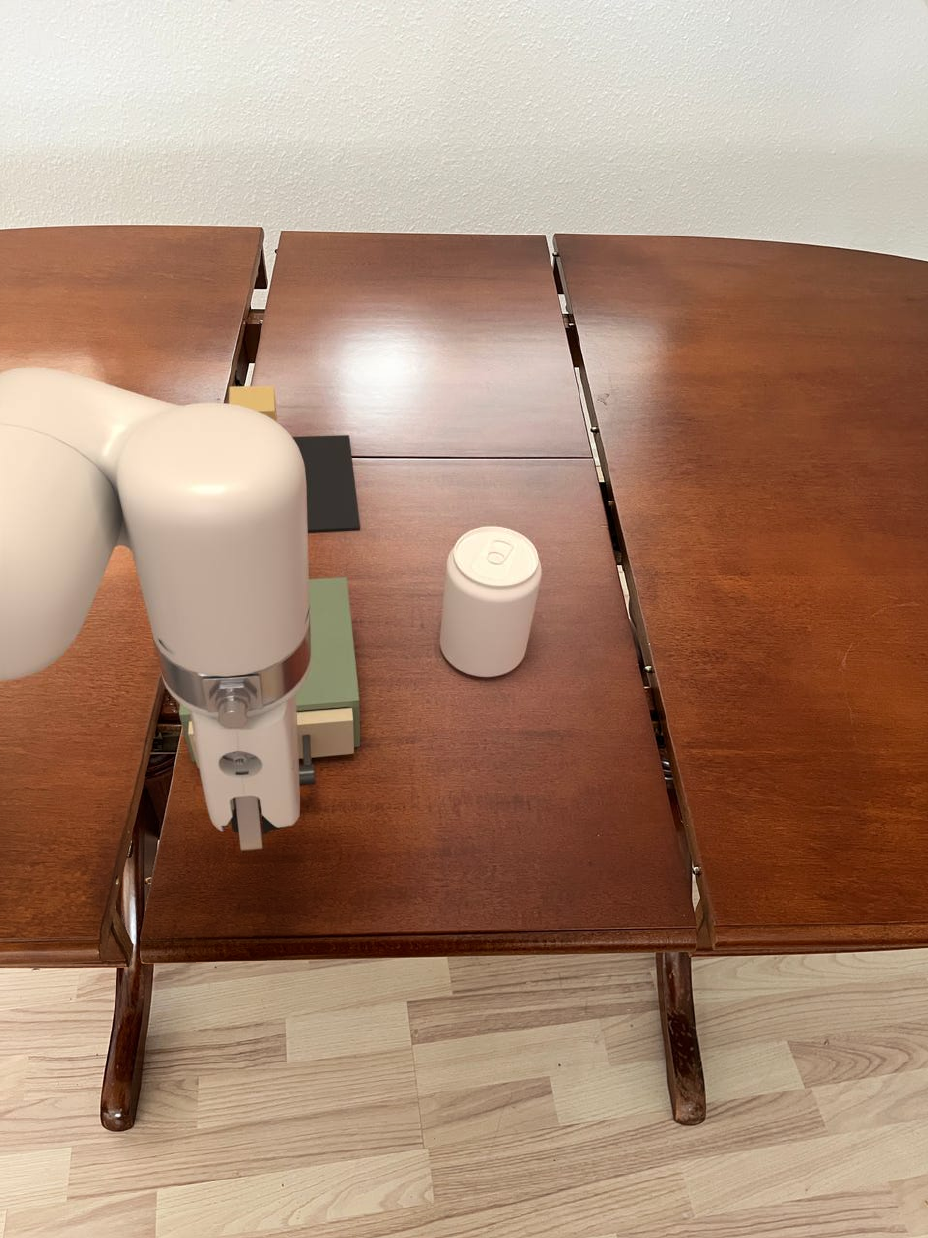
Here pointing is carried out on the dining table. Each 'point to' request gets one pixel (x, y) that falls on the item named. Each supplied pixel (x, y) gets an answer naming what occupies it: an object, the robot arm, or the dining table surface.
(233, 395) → the box
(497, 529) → the beverage can
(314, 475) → the mat
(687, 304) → the dining table surface
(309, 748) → the drawer
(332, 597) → the cabinet
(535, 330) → the dining table surface
